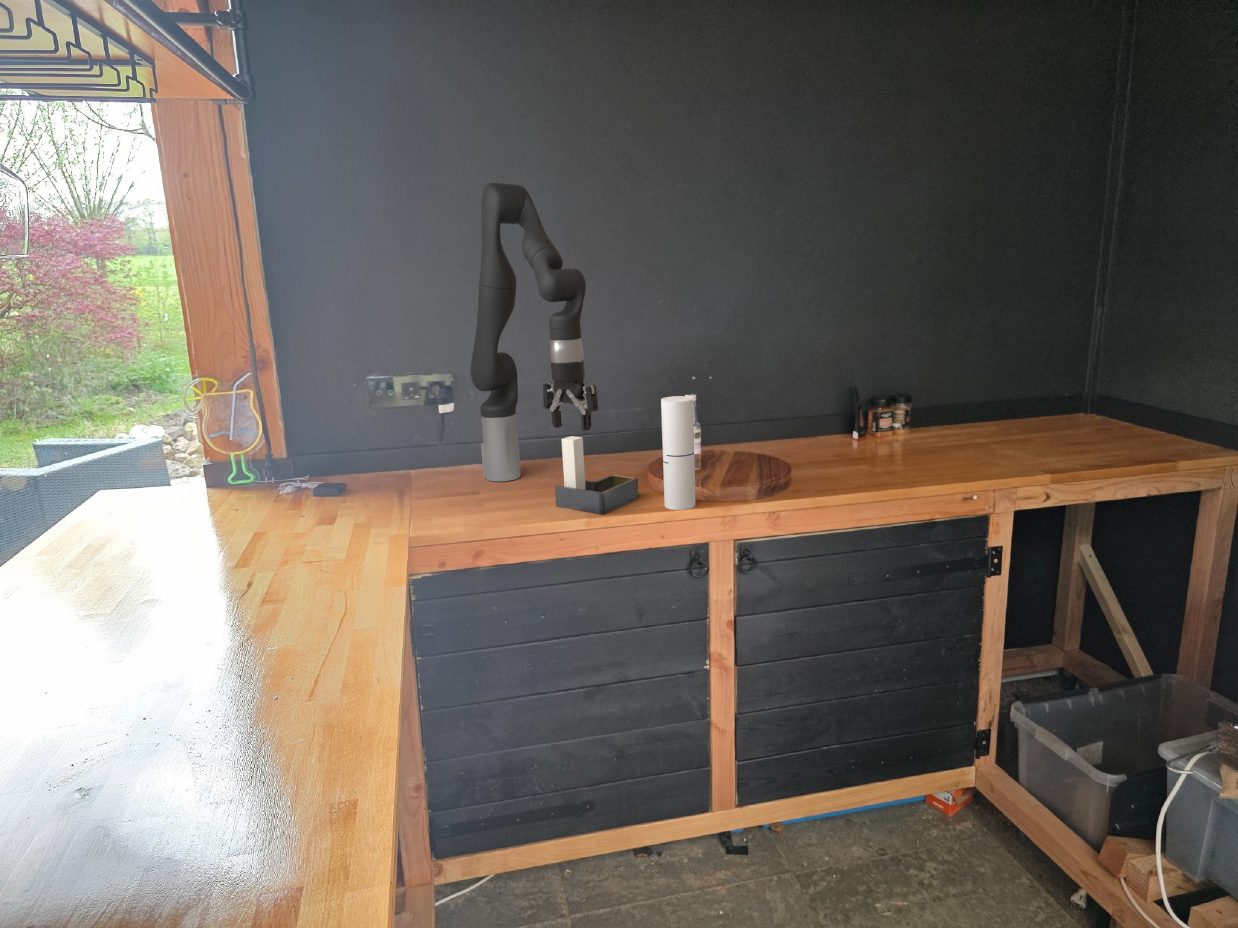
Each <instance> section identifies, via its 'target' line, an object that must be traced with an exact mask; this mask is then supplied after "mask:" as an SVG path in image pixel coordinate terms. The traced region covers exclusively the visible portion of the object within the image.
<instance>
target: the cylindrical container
mask: <svg viewBox="0 0 1238 928" xmlns="http://www.w3.org/2000/svg"><path fill="white" fill-rule="evenodd" d="M660 406H661V412H660V413H661V436H662V437H661V438H662V441H661V442H662V443H661V444H662V460H663V461H662V462H663V463H662V465H663V466H662V467H663V495H664V497H663V499H664V501H663V502H664V508H665V509H668V510H672V511H673V510H674V511H684V510H685V511H686V510H690V509H693V508H695V507H696V477H695V476H696V475H695V473H696V472H695V468H696V466H695V435H694V434H695V432H694V398H693V397H691V396H686V395H683V396H682V395H673V396H667V397H662V398H661V399H660Z"/></svg>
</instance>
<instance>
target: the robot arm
mask: <svg viewBox="0 0 1238 928" xmlns="http://www.w3.org/2000/svg"><path fill="white" fill-rule="evenodd" d="M480 215H481V216H480V219H481V220H480V222H481V223H480V224H481V225H480V227H481V252H480V253H481V257H480V268H479V269H480V270H479V281H478V293H477V294H478V297H477V302H478V304H477V316H476V317H477V318H476V326H475V327H476V328H475V336H474V344H473V350H472V355H471V361H470V362H471V363H470V377H471V381H472V384H473V386H474V387H475V388H476V389H477V390H478V391H480V392H490V393H489V396H488V398H487V399H486V400H485V401H484V402H483V403H482V404H481V405H480V409H479V410H480V420H481V421H480V422H481V431H482V442H481V443H480V449H481V450H480V451H481V460H482V461H481V462H482V473H483V479H486V480H488V481H489V482H490V481H491V482H499V483H500V482H508V481H514V480H517V479H519V478H521V477H522V473H521V458H520V448H519V446H520V445H519V435H518V422H517V404H518V402H519V397H518V396H519V389H518V388H519V386H518V385H519V384H518V369H517V365H516V362H515V360H514V358H513V357H512V356H511V355H510V354H509V353H506V352H502V351H501V352H498V347H499V341H500V339H501V336H502V333H503V331H504V329H505V327H506V326H507V323H508V321H510V320H509V319H510V318H511V316H512V313H513V311H514V309H515V304H516V295H517V277H516V273H515V271H514V268H513V266H512V264H511V262H510V261H509V259H508V256H507V255H506V252H505V251H504V247H503V245H502V240H501V239H502V238H501V237H502V236H501V224H505V225H516V224H517V225H519V226H520V227H521V228H522V229H523V231H524V232H523V236H522V241H521V248H522V253H523V255H524V258H525V260H526V261H527V262H528V264H529V265H530V267H531V269H532V270H533V272H534V275H535V279H536V282H537V288H538V289H537V290H538V293H539V295H540V297H541V298H542V299H544V301H546V302H549V303H559V302H565V304H564V307H563V309H561V310H560V311H557V312H554V313H552V314H551V315H550V316H549V318H548V325H549V326H548V328H549V338H550V339H549V340H550V341H549V342H550V347H549V354H550V355H549V356H550V369H551V370H550V372H551V379H552V381H554V382H552V381H550V382H547V383H543V385H542V395H543V397H542V398H543V409H545V410H549V411H550V413H551V414H550V415H551V423H552V426H553V428H556V429H558V428H560V427H562V425H563V424H562V411H561V408H562V406H563V405H564V404H570V405H574V406H575V407H576V408H577V409H579V411H580V413H581V415H580V417H581V418H580V420H581V430H582V431H589V430H590V429H591V428H592V413H594V412H598V411H599V404H598V403H599V402H598V394H597V387H596V385H595V384H591V385H585V382H584V379H585V377H586V376H585V375H586V373H585V360H584V359H585V358H584V357H585V356H584V346H583V343H582V331H581V330H582V328H581V317H582V312H583V311H582V310H583V306H584V301H585V295H586V290H587V289H586V288H587V283H586V279H585V276H584V274H583V272H581V270H580V269H577V268H563V265H564V264H563V257H562V255H561V253H560V252H559V250H558V249H557V248H556V246H555V245H554V244H553V242H552V240H551V239H550V238H549V236H548V234H547V232H546V231H545V228H544V225H543V223H542V221H541V218H540V216H539V213H538V211H537V208H536V206H535V204H534V201H533V199H532V197H531V195H530V193H529V192H528V190H527V188H525V187H523V186H521V185H518V184H512V183H511V184H510V183H501V182H500V183H499V182H488V183H487V184H486V185H485V186H484V187H483V191H482V195H481V202H480Z"/></svg>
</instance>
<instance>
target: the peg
mask: <svg viewBox="0 0 1238 928" xmlns="http://www.w3.org/2000/svg"><path fill="white" fill-rule="evenodd" d="M583 438H584V437H581V436H575V435H574V436H573V435H571V436H567V437H564V438H561V453H562V468H563V481H564V483H563V484H564V485H563V486H565V487H571V488H577V489H583V490H586V488H585V480H586V477H585V476H586V474H585V459H584V458H585V457H584V455H585V454H584V453H585V452H584V440H583Z"/></svg>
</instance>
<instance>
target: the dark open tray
mask: <svg viewBox="0 0 1238 928" xmlns="http://www.w3.org/2000/svg"><path fill="white" fill-rule="evenodd" d="M638 480H639V479H638V477H631V476H625V475H620V474H619V475H618V474H610V475H607V476H605V477H603V478H600V479H598V480H589V479H585V488H586V490H583V489H577V488H571V487H565V486H564V485H558V484H557V485H554V496H555V506H556V507H557V506H560V507H559V508H563V509H568V510H573V509H574V511H578V512H579V511H580V512H585V513H590V514H596V515H600V516H601V515H602V516H604V515H607V514H608V513H610V512H612V511H614V510H616V509H619V508H621V507H623V506H625V505H627V504H630V503H631V502H634V501H636V500H639V497H640V496H639V481H638Z"/></svg>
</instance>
